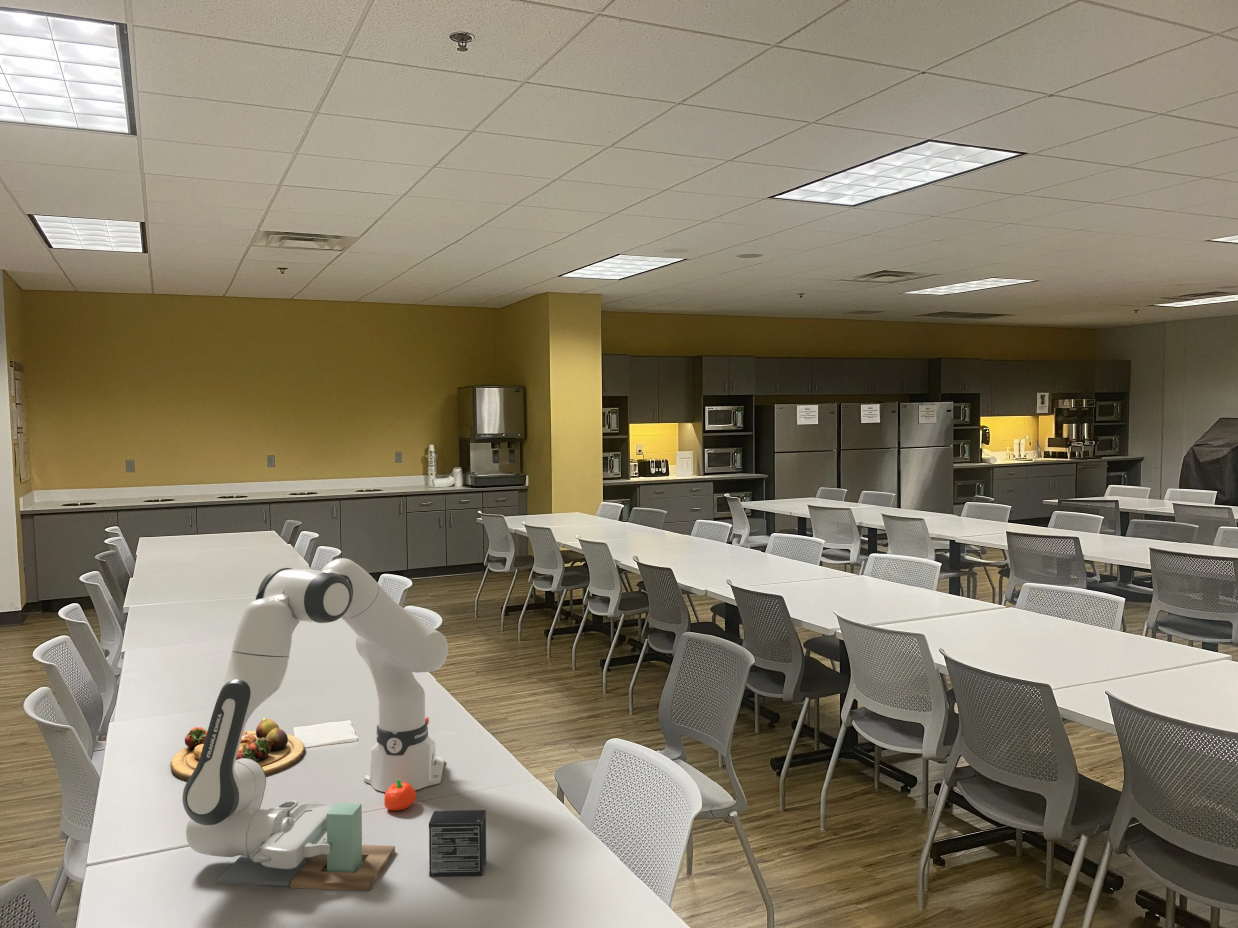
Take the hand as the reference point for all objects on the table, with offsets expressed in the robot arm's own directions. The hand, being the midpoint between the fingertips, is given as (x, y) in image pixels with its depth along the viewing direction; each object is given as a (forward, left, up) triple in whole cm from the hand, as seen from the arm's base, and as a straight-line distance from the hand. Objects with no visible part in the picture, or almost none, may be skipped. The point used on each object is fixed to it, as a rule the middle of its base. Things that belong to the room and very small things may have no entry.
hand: (340, 836), depth 170 cm
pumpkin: (-28, +3, -7) cm, 29 cm away
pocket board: (0, +1, -6) cm, 6 cm away
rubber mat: (0, -14, -6) cm, 16 cm away
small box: (-2, +23, -7) cm, 24 cm away
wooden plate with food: (-53, -48, -7) cm, 72 cm away
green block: (0, +1, -7) cm, 7 cm away
